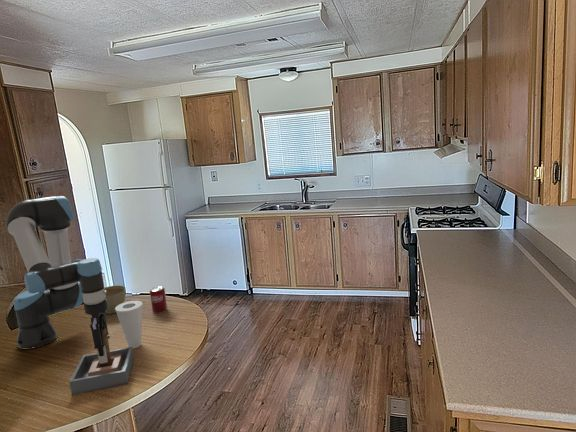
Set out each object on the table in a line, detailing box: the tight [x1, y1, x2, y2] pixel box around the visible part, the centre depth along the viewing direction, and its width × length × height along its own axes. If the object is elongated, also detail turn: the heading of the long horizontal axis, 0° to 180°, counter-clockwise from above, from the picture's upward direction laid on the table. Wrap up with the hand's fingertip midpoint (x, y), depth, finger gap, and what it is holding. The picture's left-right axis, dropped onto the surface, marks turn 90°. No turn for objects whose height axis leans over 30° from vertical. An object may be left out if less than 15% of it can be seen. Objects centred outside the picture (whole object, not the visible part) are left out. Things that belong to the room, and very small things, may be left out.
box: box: [69, 346, 135, 395], centre depth 145 cm, size 18×18×5 cm
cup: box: [115, 300, 143, 349], centre depth 165 cm, size 11×11×18 cm
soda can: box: [149, 286, 168, 315], centre depth 200 cm, size 7×7×12 cm
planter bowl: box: [104, 285, 127, 315], centre depth 205 cm, size 16×16×11 cm
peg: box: [100, 329, 112, 368], centre depth 147 cm, size 4×4×14 cm
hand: (104, 359), depth 148 cm, fingers closed on peg, 4 cm apart
